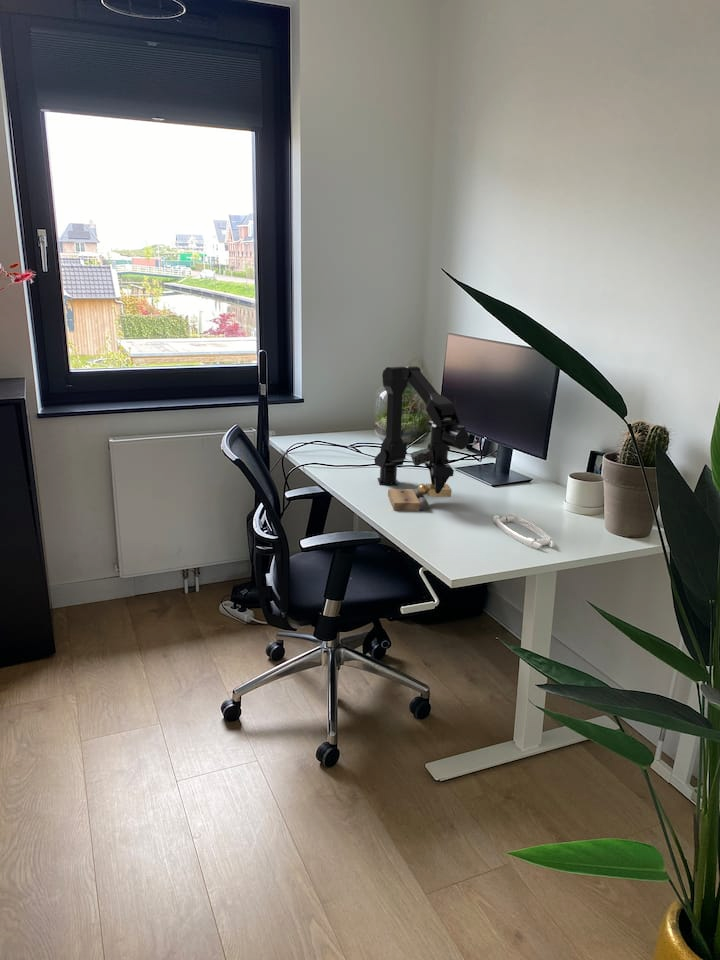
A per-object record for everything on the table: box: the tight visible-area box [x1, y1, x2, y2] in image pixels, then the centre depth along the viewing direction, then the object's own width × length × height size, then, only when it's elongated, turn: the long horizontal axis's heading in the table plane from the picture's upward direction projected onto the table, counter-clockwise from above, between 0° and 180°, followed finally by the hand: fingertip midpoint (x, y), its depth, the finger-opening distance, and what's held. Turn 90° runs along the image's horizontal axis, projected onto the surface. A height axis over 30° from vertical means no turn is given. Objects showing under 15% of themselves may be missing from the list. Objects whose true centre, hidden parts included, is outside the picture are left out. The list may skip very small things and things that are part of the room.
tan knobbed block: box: [417, 483, 452, 498], centre depth 228 cm, size 10×6×3 cm, turn 95°
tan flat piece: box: [387, 487, 430, 511], centre depth 228 cm, size 11×14×3 cm
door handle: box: [492, 513, 555, 550], centre depth 206 cm, size 3×10×25 cm
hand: (435, 490), depth 228 cm, fingers closed on tan knobbed block, 6 cm apart
